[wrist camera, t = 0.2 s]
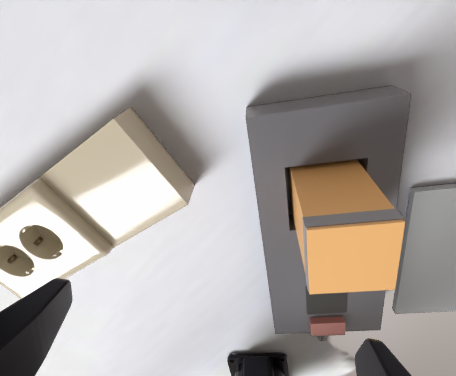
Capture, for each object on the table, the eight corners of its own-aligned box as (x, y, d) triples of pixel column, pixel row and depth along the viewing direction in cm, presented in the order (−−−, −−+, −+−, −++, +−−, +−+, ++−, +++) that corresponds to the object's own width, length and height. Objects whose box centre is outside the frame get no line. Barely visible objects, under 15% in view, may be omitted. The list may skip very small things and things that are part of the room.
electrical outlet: (185, 212, 19) (24, 304, 25) (195, 182, 23) (52, 269, 29) (106, 123, 17) (-53, 249, 23) (132, 105, 20) (-11, 218, 26)
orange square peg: (349, 204, 22) (395, 290, 15) (291, 210, 22) (308, 295, 15) (352, 151, 20) (406, 220, 13) (287, 159, 20) (305, 229, 13)
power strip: (367, 332, 29) (379, 364, 27) (276, 335, 31) (279, 366, 28) (391, 85, 18) (416, 96, 15) (246, 107, 19) (245, 120, 17)
